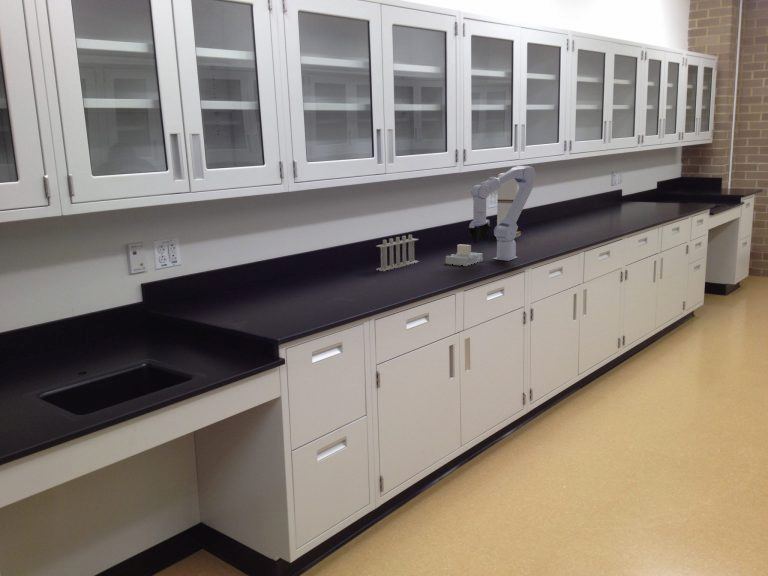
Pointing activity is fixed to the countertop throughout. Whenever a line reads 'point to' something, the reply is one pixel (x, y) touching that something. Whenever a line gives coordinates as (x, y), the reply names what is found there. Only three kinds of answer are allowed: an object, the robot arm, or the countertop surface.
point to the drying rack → (464, 259)
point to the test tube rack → (397, 253)
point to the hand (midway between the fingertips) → (479, 241)
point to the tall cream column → (506, 199)
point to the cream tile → (464, 250)
